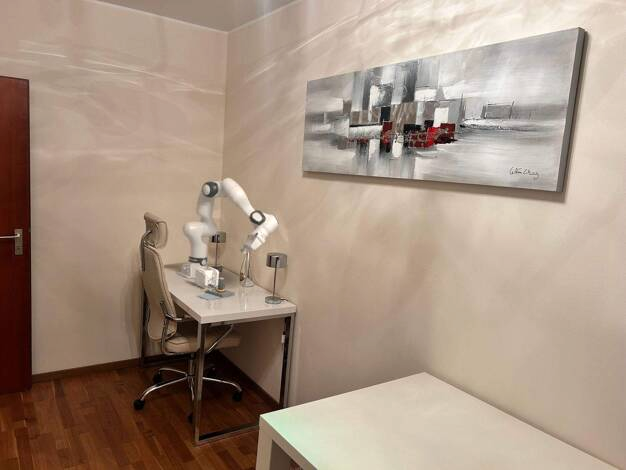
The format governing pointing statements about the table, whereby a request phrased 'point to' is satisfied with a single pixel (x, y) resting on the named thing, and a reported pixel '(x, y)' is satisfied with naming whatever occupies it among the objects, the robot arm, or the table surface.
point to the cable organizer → (206, 277)
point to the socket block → (222, 294)
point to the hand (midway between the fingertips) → (242, 252)
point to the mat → (208, 296)
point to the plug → (220, 285)
